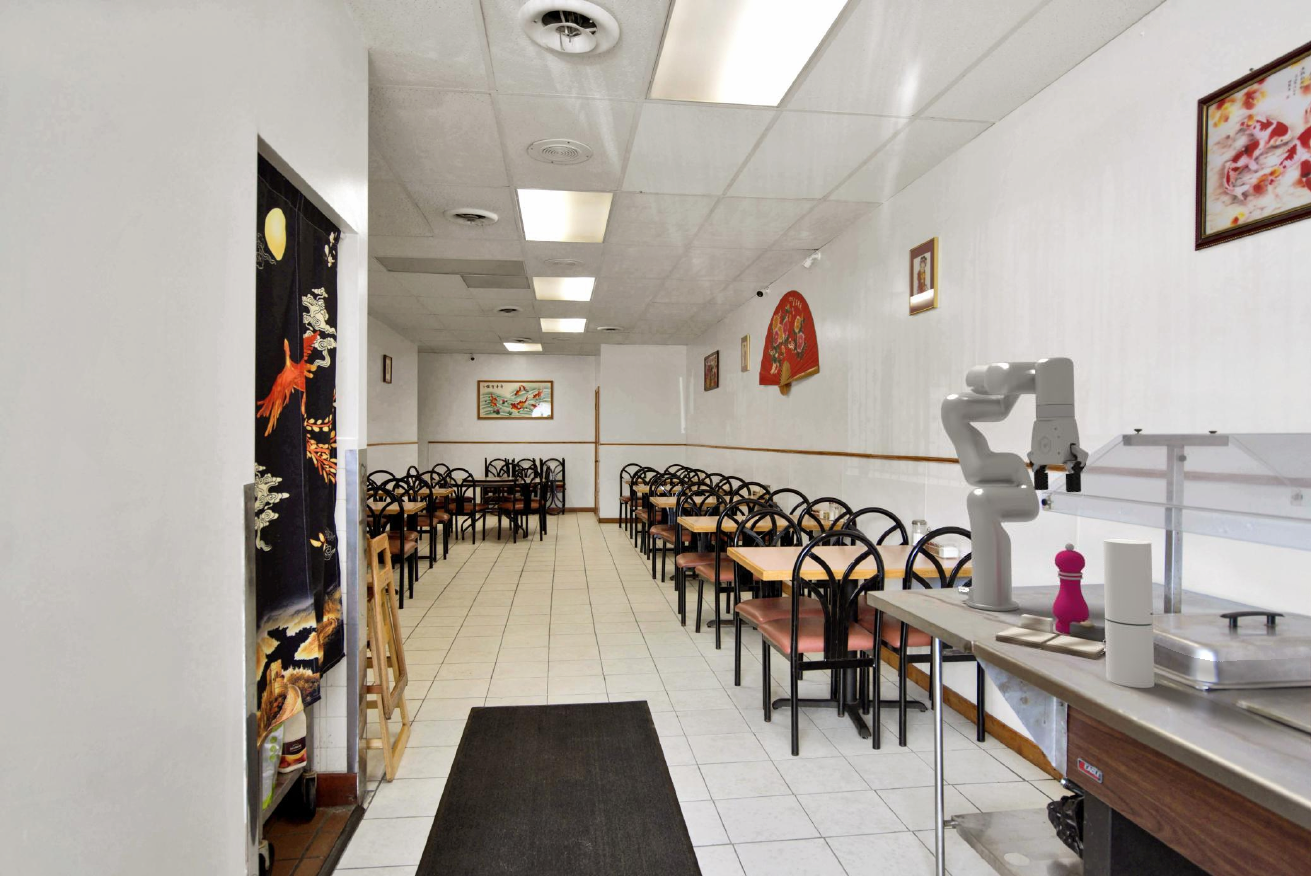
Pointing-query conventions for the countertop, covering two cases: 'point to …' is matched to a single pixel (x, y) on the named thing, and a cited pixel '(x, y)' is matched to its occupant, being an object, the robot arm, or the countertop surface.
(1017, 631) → the board
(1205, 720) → the countertop surface
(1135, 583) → the cylindrical container
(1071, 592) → the pepper mill
